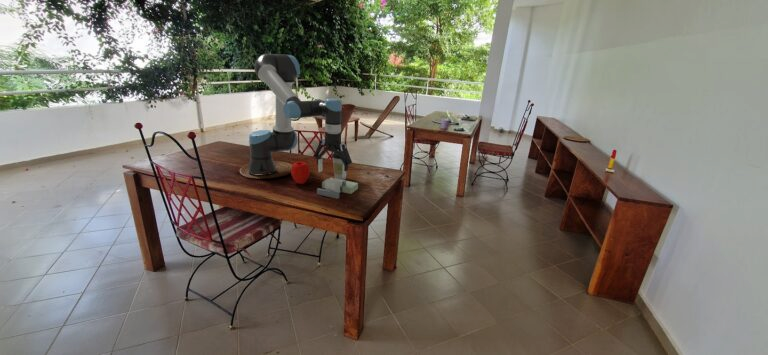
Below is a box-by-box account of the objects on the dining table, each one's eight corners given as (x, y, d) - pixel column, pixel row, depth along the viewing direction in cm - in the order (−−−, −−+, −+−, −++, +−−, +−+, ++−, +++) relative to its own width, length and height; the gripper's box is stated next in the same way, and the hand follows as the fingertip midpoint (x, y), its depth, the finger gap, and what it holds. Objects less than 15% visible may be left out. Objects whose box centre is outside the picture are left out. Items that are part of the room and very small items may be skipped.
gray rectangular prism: (330, 190, 170) (330, 177, 168) (340, 192, 168) (340, 179, 166) (325, 194, 165) (325, 181, 163) (334, 196, 164) (334, 183, 161)
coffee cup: (346, 182, 182) (346, 156, 177) (329, 180, 184) (329, 154, 179) (351, 176, 191) (351, 151, 186) (335, 174, 193) (335, 150, 188)
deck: (312, 193, 166) (312, 182, 164) (329, 182, 180) (330, 173, 178) (342, 200, 160) (342, 189, 158) (357, 188, 175) (358, 178, 173)
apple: (288, 181, 179) (287, 160, 175) (305, 178, 184) (304, 157, 180) (295, 187, 171) (294, 165, 167) (312, 184, 177) (312, 162, 173)
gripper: (306, 129, 157) (306, 171, 165) (352, 138, 149) (350, 181, 157) (314, 126, 164) (314, 167, 171) (360, 134, 156) (357, 176, 163)
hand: (332, 174), depth 164 cm, fingers open, 13 cm apart
